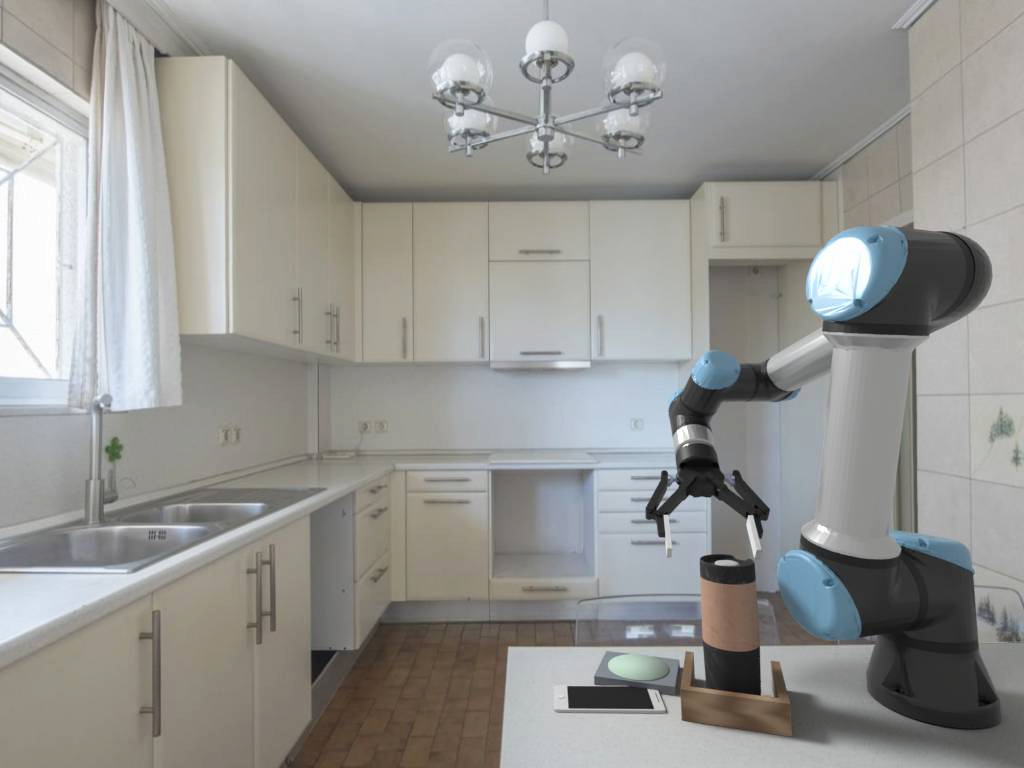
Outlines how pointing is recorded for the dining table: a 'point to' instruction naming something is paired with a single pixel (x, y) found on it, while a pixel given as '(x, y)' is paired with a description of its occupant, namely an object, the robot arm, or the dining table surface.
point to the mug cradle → (736, 704)
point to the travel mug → (730, 624)
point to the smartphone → (607, 699)
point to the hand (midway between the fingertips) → (713, 554)
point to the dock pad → (638, 672)
